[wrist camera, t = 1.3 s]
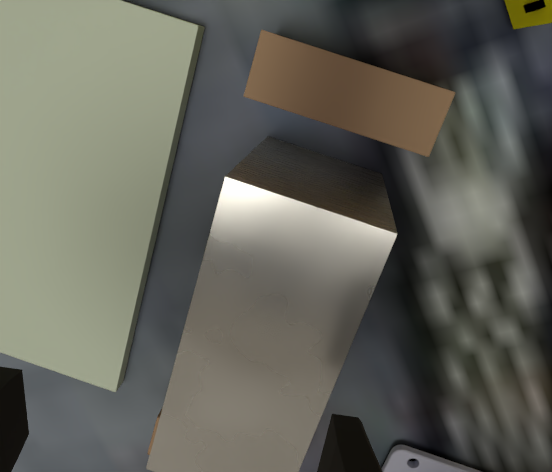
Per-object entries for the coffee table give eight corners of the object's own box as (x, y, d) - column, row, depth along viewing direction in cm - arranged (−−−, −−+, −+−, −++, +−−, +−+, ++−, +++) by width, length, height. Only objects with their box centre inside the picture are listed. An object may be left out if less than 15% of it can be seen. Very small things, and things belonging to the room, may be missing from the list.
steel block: (381, 173, 19) (397, 233, 13) (300, 383, 23) (279, 515, 16) (268, 135, 19) (225, 176, 13) (205, 350, 23) (145, 468, 16)
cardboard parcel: (439, 87, 18) (455, 92, 15) (292, 449, 24) (284, 502, 21) (275, 33, 18) (261, 29, 15) (171, 407, 24) (147, 454, 21)
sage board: (204, 26, 18) (198, 25, 17) (123, 381, 24) (115, 392, 23) (-31, -50, 18) (-47, -54, 18) (-57, 319, 24) (-70, 328, 23)
